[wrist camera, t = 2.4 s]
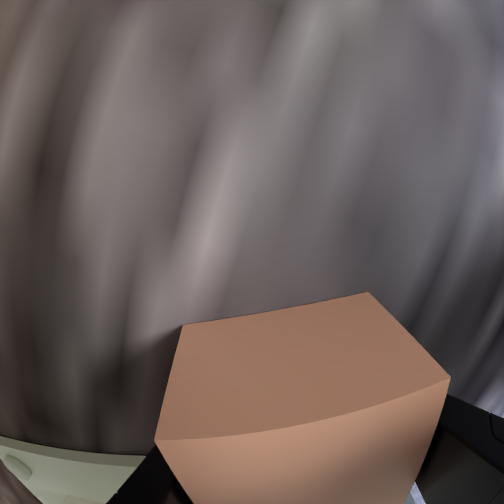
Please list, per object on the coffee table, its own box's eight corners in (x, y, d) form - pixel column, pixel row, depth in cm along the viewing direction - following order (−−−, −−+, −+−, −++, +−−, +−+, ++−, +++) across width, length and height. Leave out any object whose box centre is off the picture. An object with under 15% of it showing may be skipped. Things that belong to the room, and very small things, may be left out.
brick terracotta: (368, 291, 8) (450, 377, 4) (362, 417, 9) (403, 503, 6) (182, 324, 8) (154, 440, 4) (222, 444, 9) (223, 542, 5)
